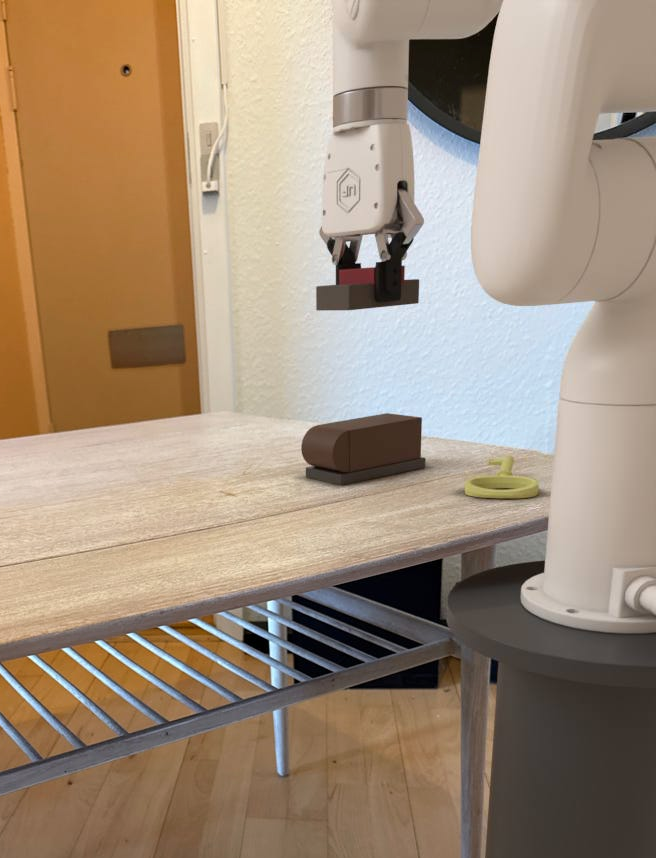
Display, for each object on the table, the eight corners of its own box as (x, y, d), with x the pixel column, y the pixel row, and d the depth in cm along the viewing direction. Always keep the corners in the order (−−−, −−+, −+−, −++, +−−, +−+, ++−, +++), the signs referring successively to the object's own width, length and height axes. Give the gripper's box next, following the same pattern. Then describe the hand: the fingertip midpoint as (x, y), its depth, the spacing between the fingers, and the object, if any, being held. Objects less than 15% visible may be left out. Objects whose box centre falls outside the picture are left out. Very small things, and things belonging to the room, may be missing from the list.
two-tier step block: (349, 310, 97) (349, 269, 95) (315, 310, 101) (315, 271, 100) (419, 303, 101) (420, 264, 100) (383, 303, 106) (384, 266, 104)
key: (511, 473, 104) (512, 454, 103) (543, 498, 93) (545, 477, 92) (446, 476, 105) (447, 457, 104) (471, 502, 94) (472, 481, 93)
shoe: (335, 486, 104) (334, 433, 102) (299, 478, 109) (298, 427, 107) (425, 467, 110) (427, 417, 108) (387, 460, 116) (388, 412, 113)
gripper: (289, 128, 100) (292, 305, 106) (401, 98, 86) (396, 303, 92) (343, 129, 103) (342, 300, 110) (459, 100, 89) (450, 298, 96)
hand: (367, 299), depth 101 cm, fingers closed on two-tier step block, 5 cm apart
